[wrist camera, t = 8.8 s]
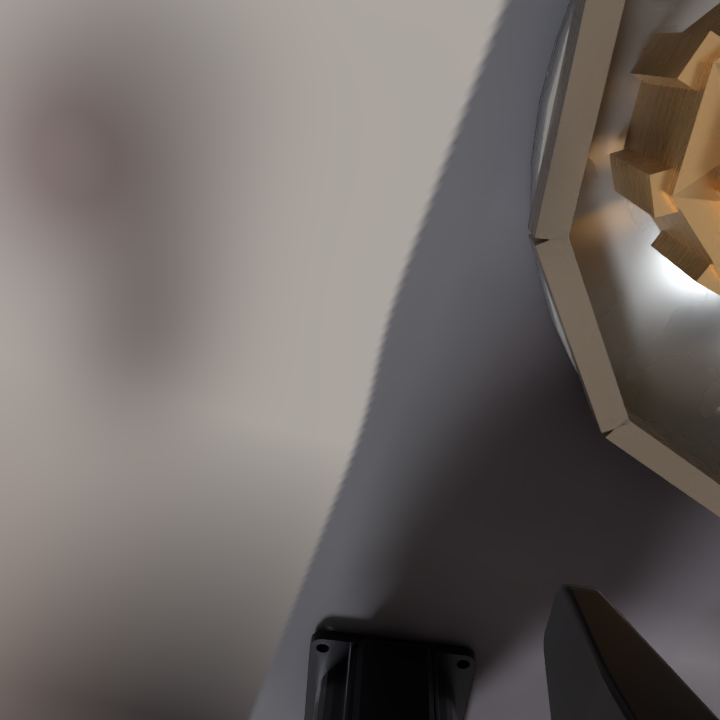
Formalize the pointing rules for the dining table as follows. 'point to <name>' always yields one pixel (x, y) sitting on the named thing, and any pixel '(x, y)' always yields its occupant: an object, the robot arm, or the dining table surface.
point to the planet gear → (678, 147)
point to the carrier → (622, 254)
